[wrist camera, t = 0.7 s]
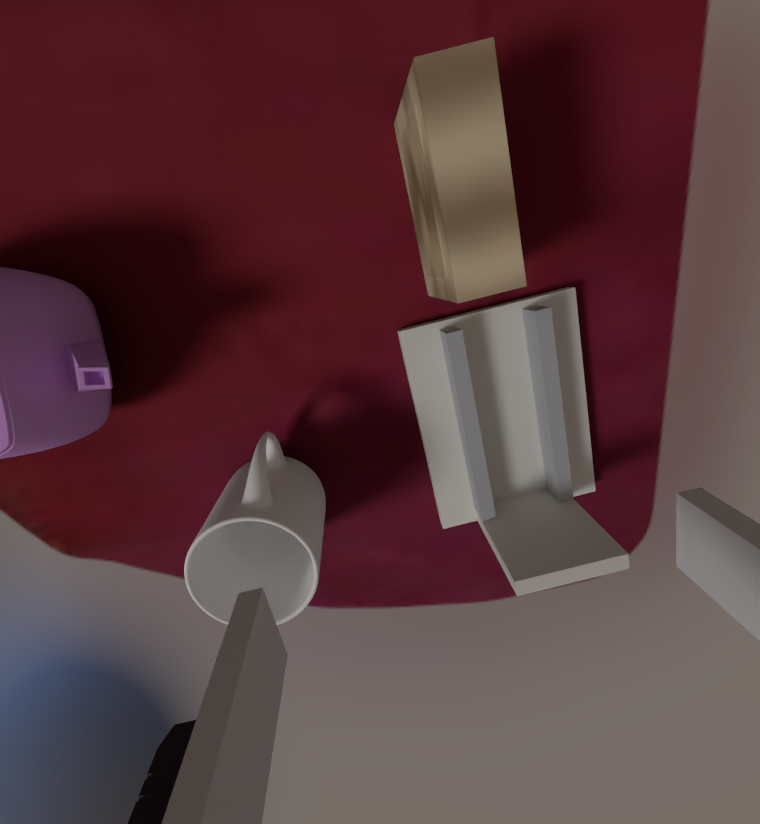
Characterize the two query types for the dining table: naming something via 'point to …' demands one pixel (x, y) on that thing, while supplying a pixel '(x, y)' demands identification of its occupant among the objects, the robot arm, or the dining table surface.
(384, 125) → the dining table surface
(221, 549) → the mug
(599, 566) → the white stand
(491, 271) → the door panel
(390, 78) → the dining table surface
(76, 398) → the teapot
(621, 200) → the dining table surface
